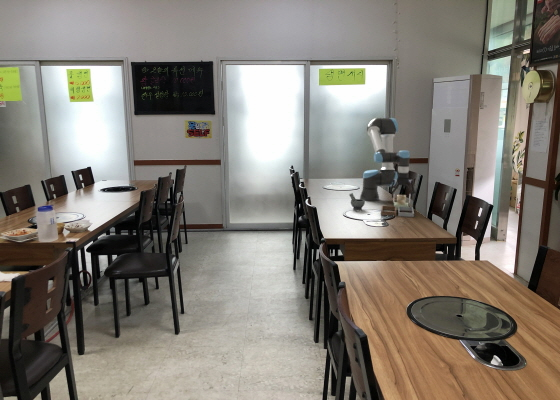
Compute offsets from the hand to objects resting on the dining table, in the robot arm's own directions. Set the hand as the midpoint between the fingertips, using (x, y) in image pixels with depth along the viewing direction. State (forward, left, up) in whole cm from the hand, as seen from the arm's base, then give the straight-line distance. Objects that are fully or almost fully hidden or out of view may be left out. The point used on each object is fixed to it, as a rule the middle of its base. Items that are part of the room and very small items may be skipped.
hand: (401, 202), depth 328 cm
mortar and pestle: (+13, -31, -5) cm, 34 cm away
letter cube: (0, 0, -1) cm, 1 cm away
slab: (0, 0, -4) cm, 4 cm away
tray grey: (+16, +3, -4) cm, 17 cm away
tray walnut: (+16, -9, -4) cm, 19 cm away
